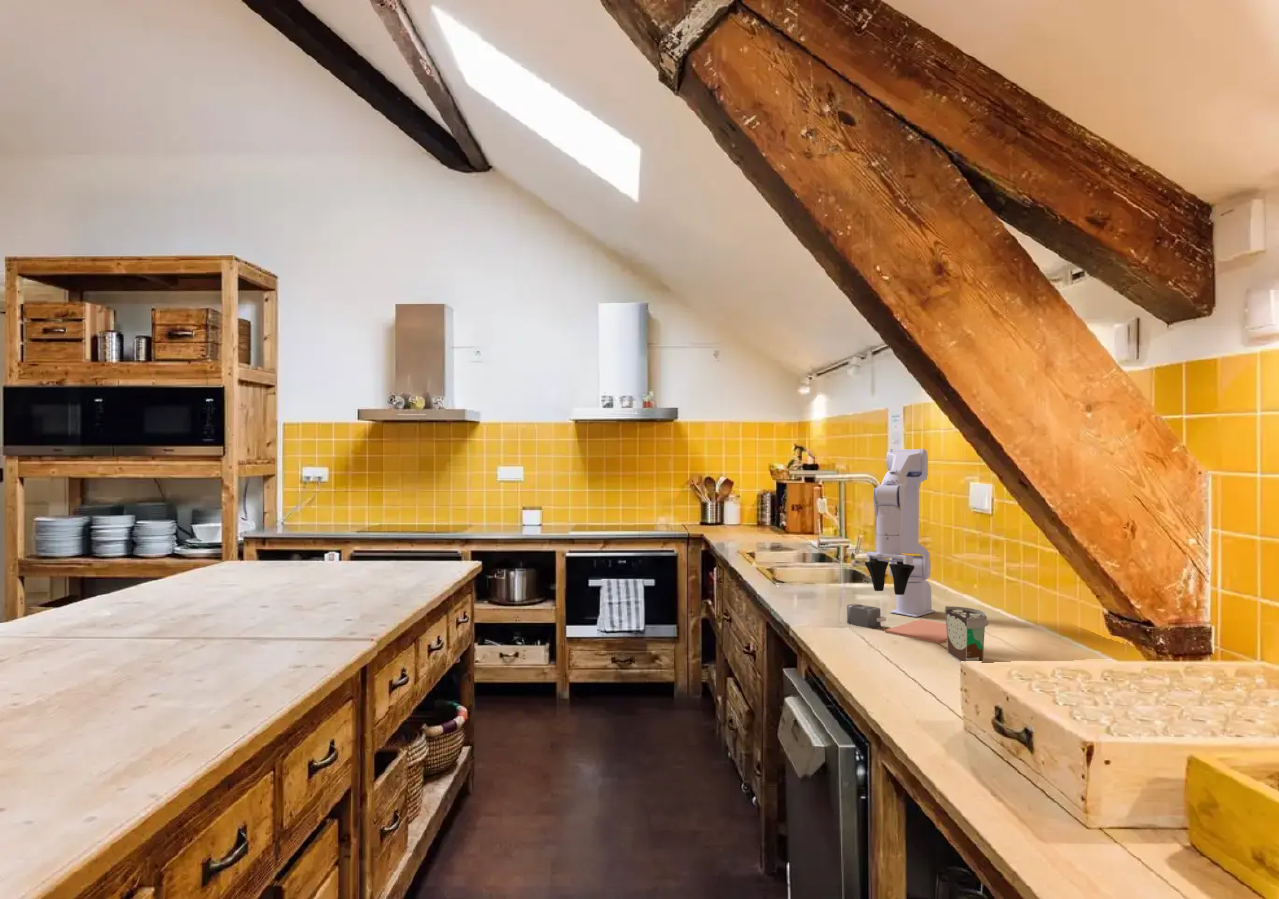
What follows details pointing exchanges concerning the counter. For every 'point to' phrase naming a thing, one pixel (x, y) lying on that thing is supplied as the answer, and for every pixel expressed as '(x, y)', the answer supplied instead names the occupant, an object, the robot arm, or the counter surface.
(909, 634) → the mat
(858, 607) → the plug
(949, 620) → the food container
